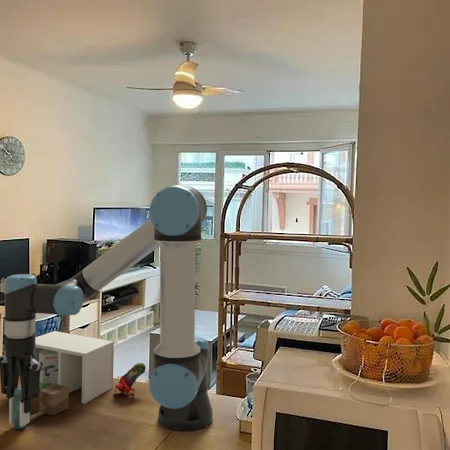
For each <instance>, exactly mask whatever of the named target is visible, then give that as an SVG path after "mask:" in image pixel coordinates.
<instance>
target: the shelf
mask: <svg viewBox="0 0 450 450" xmlns="http://www.w3.org/2000/svg"><path fill="white" fill-rule="evenodd" d="M114 347H115V341H114V340H107V339H101V338H97V337H96V338H95V337H91V336H85V335H79V334H73V333H67V332H63V331H56V330H54V331H51V332H47V333H44V334H42V335H39V336H36V339H35V348H34V350H33V354H34V357H35V358H34V359H35V360H36V361H37V362H39V351H41V350H52V351H57V352H58V385H62V386H66V387H69V394H70V393H73V392H74V390H75V391H76V390H78V389H81V404H84V405H85V404H86V403H88V402H90V401H92V400H93V399H95V398H97V397H98V396H101V395H102V394H105V392H108V391H109V390H111V389H113V388H114V352H115V348H114ZM72 391H73V392H72ZM100 394H101V395H100Z"/></svg>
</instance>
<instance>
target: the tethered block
mask: <svg viewBox="0 0 450 450" xmlns="http://www.w3.org/2000/svg"><path fill="white" fill-rule="evenodd" d="M69 394H70V393H69V387H66V386H62V385H58V384H54V385H52V386H50V387H47V388H45V389H43V390H40V389H39V410H38V412H36V413H34V414H32V415H31V414H30V421H32V420H34V419H36V418H38V417H39V416H42V415H44V414H46V415H49V416H55V415H56V414H59V413H61V412H63V411H65V410H67V409H68V408H69V398H70V397H69ZM20 400H22V391H21V386H18V388H15V389H14V422H13V428H14V429H15V430H21V429H22V430H23V429H25V428H26V427H27V424H26V425H24V426H22V427H21V426H20Z"/></svg>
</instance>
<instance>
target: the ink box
mask: <svg viewBox="0 0 450 450" xmlns="http://www.w3.org/2000/svg"><path fill="white" fill-rule="evenodd" d="M39 362H42V363H43V365H42V368H41V370H40V381H39V391H40V390H43V389H45V388H47V387H50V386H52V385H54V384H58V352H57V351H52V350H41V351H39Z"/></svg>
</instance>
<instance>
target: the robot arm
mask: <svg viewBox="0 0 450 450" xmlns="http://www.w3.org/2000/svg"><path fill="white" fill-rule="evenodd" d="M207 206H208V205H207V202H206V199H205V197H204V196H203V194H202V193H201V191H199V190H198V189H196V188H194V187H193V186H192V187H191V186H186V185H182V184H181V185H180V184H175V185H169V186H166V187H164V188H162V189H160V190H159V191H158V192H157V193H156V194H155V195H154V196H153V197H152V200H151V202H150V205H149V210H148V211H149V219H148V220H147V221H145V222H144V223H143V224H141V225H140V226H139V227H137V228H136V229H135V230H133V231H132V232H131V233H129V234H128V235H127V236H125V237H124V238H123V239H121V240H120V241H119V242H118V243H116V244H114V245H113V246H112V247H111V248H109V249H108V250H107V251H105V252H104V253H103V254H102V255H100V256H99V257H98V258H96V259H95V260H94V261H92V262H91V263H90V264H88V265H87V266H85V267H84V268H83V269H82V270H80V271H79V272H77V273H76V274H75V275H74V276H72V277H71V278H69V279H67V280H64V281H61V282H59V283H56V284H48V283H47V284H45V283H37V282H38V281H37V277H36V276H35V275H34V274H28V273H23V274H22V273H20V274H12V275H10V276H7V277H6V278H5V280H4V283H5V284H4V293H3V295H4V320H3V321H4V323H3V325H4V329H3V334H4V341H3V343H4V345H3V349H4V351H5V354H3V355H0V393H1V394H2V395H6V398H7V409H8V412H9V413H8V423H9V424H14V389H15V388H18V387H19V381H20V387H21V391H22V400H20V426H21V427H22V426H24V425H26V426H27V424H29V423H30V422H31V420H30V416H31V411H32V401H33V400H36V399H37V398H39V393H40V389H39V381H40V370H41V368H42V365H43V363H42V362H37V361H36V360H35V359H34V358H35V357H34V354H33V350H34V348H35V339H36V337H37V336H36V334H35V333H36V322H37V321H36V316H37V314H41V315H42V314H43V315H56V316H57V315H58V316H63V317H65V316H75V315H78V314H79V313H80V311H81V309H82V308H83V304H84V303H87V302H88V301H89V300H91V299H92V298H93V296H94V295H96V294H97V293H99V292H100V291H101V290H102V289H103V288H105V287H106V286H108V285H109V284H110V283H111V282H113V281H114V280H115V279H117V278H119V277H120V276H121V275H122V274H124V273H125V272H126V271H128V270H129V269H130V268H132V267H134V266H135V265H136V264H137V263H138V262H140V261H142V259H144V258H146V257H147V256H148V255H149V254H151V253H153V252H154V251H155V250H157V249H158V248H160V249H159V250H160V251H159V252H160V256H159V257H160V258H159V259H160V260H159V262H160V263H159V264H160V265H159V267H160V269H159V272H160V274H159V275H160V276H159V277H160V278H159V279H160V280H159V281H160V282H159V283H160V284H159V285H160V286H159V290H160V291H159V293H160V296H159V298H160V299H159V309H160V310H159V343H158V344H157V345H156V346H155V347H154V348H153V371H152V372H151V375H150V376H149V383H148V388H149V389H148V390H149V392H150V395H151V396H152V398H153V400H154V401H156V402H157V403H158V405H160V406H159V408H158V414H157V415H158V417H157V418H158V422H159V424H160V425H162V426H163V427H165V428H167V429H170V430H174V431H175V430H176V431H179V432H180V431H182V432H183V431H184V432H188V431H189V432H190V431H196V430H197V431H198V430H200V429H204V428H205V427H208V426H209V425H210V424H211V423H212V422H213V420H214V419H213V418H214V417H213V414H214V413H213V408H212V404H211V400H210V397H209V393H208V382H209V381H208V378H209V375H208V374H209V351H210V347H209V341H208V340H207V338H204V337H201V336H195V334H196V333H195V332H196V331H195V329H196V328H195V326H196V324H195V323H196V322H195V321H196V320H195V319H196V318H195V316H196V315H195V314H196V313H195V311H196V307H195V306H196V305H195V304H196V296H195V295H196V247H197V246H198V245H199V244H200V243H201V242H202V226H203V225H202V223H203V221H204V220H205V218H206V215H207V212H208V211H207V210H208V207H207Z"/></svg>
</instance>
